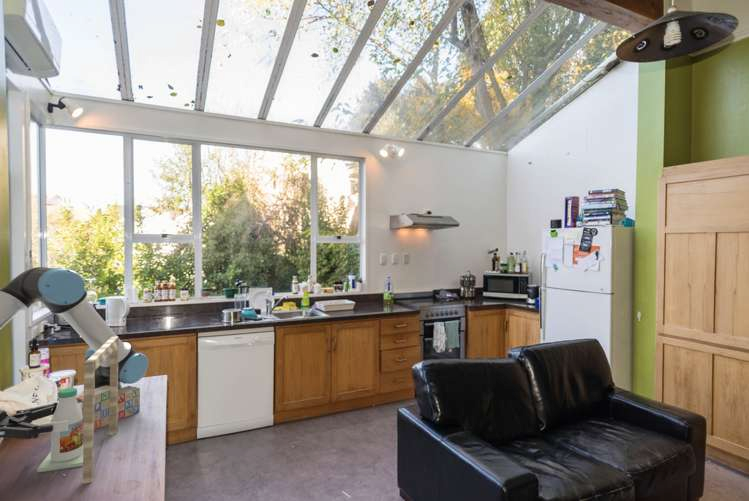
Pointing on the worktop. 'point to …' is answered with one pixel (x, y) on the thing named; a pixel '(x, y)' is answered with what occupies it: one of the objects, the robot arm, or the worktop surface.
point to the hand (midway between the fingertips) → (75, 416)
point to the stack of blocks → (126, 403)
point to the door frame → (89, 394)
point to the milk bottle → (69, 441)
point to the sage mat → (59, 463)
